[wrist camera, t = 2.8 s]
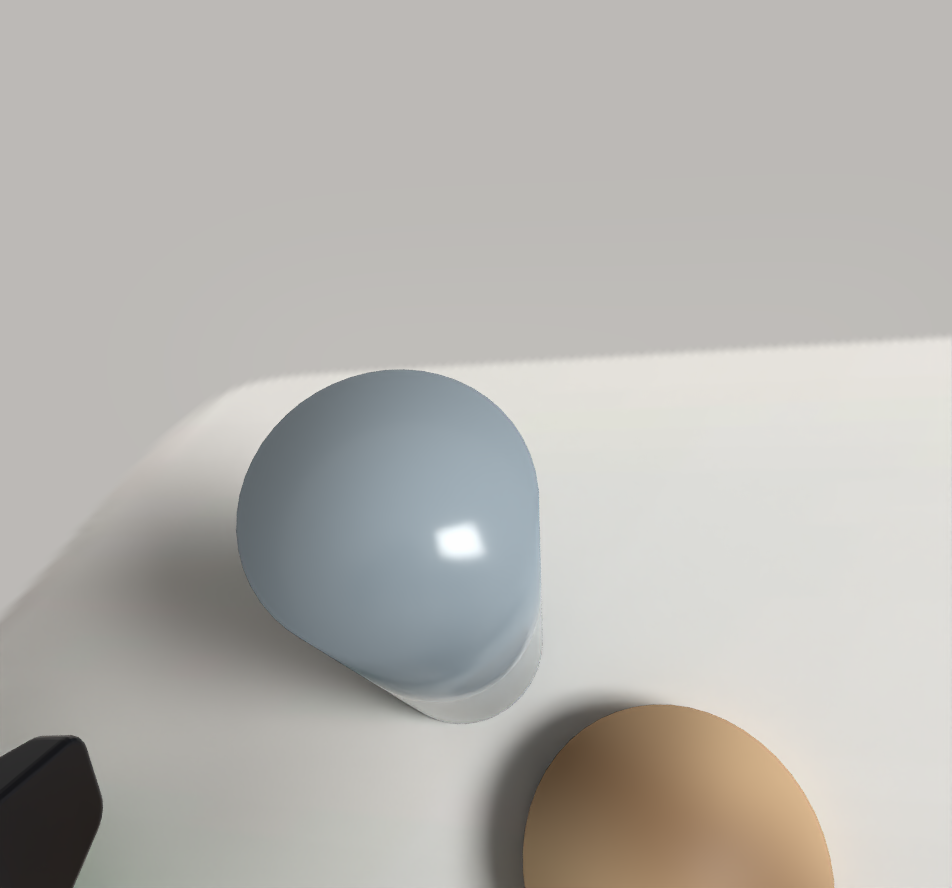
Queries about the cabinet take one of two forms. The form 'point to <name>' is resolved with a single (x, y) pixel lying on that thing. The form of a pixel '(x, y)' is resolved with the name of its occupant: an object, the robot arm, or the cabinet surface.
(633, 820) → the tan round disc
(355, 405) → the grey rounded cylinder
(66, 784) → the robot arm
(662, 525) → the cabinet surface
